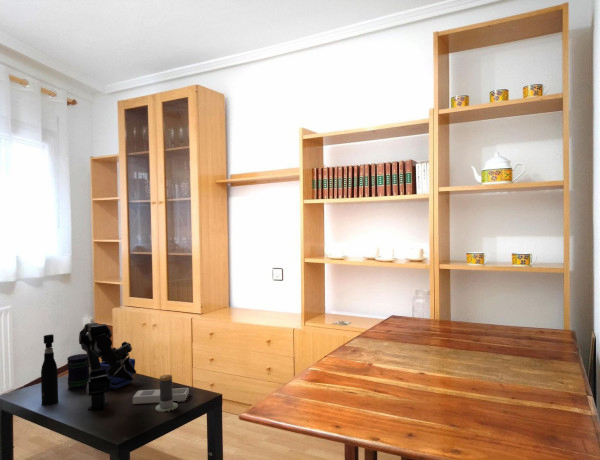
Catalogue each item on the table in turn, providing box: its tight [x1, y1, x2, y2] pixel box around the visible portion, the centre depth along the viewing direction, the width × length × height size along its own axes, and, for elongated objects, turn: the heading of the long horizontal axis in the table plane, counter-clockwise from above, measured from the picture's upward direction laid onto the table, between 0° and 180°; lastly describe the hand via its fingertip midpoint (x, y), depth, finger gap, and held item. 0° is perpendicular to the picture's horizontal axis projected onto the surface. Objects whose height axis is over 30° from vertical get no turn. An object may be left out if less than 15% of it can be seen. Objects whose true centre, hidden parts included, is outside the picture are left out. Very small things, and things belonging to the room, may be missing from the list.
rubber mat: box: [155, 402, 179, 413], centre depth 183 cm, size 9×9×1 cm
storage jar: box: [67, 353, 90, 392], centre depth 213 cm, size 10×10×15 cm
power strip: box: [132, 387, 190, 405], centre depth 193 cm, size 8×22×3 cm, turn 94°
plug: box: [159, 374, 173, 409], centre depth 183 cm, size 6×6×12 cm
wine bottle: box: [40, 334, 59, 407], centre depth 192 cm, size 6×6×30 cm
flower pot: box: [100, 358, 136, 390], centre depth 214 cm, size 13×13×12 cm
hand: (134, 376), depth 183 cm, fingers open, 9 cm apart
